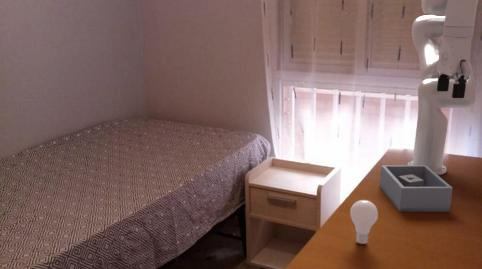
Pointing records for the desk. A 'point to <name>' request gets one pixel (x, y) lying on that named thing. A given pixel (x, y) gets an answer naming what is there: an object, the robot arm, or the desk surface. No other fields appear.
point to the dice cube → (411, 181)
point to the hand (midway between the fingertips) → (449, 94)
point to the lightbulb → (363, 218)
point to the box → (416, 189)
